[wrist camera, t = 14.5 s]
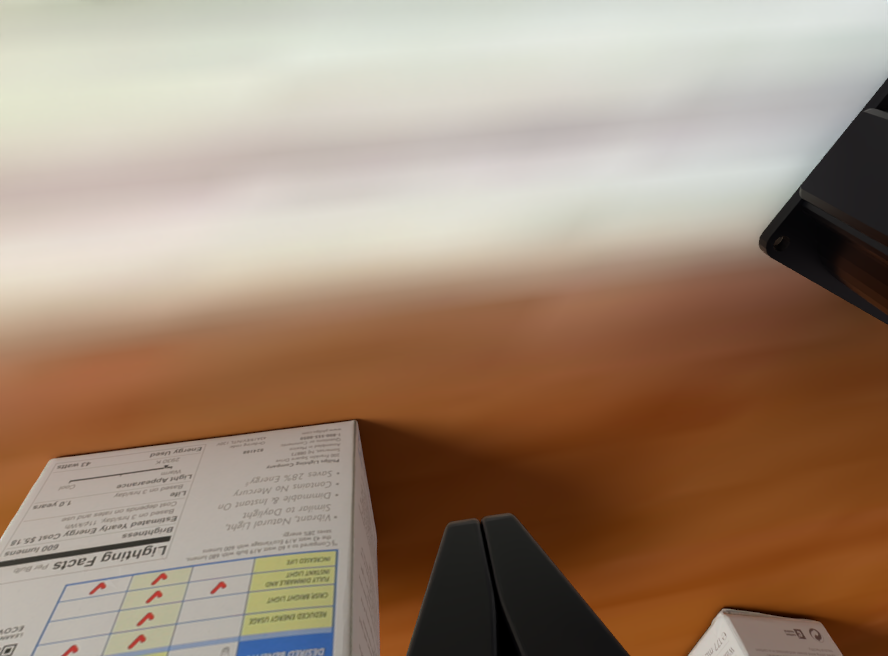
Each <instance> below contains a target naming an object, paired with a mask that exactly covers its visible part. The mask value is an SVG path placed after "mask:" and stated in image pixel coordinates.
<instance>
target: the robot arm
mask: <svg viewBox="0 0 888 656" xmlns="http://www.w3.org/2000/svg"><path fill="white" fill-rule="evenodd" d="M781 236H783V239H782V240H781V242H780V243H779V244H778V245H776V246H774V243H775V241H776V240H777V239H778V238H779V237H781ZM759 246H760V249H761V250H762V251H763V252H764V253H766V254H767V255H768V256H770V257H771V258H773V259H775V260H776V261H778V262H780V263H782V264H783V265H785V266H787V267H788V268H790V269H792V270H794V271H795V272H797V273H799V274H801V275H802V276H804V277H806V278H808V279H809V280H811V281H813V282H815V283H816V284H818V285H820V286H822V287H823V288H825V289H827V290H829V291H830V292H832V293H834V294H835V295H837V296H839V297H841V298H842V299H844V300H846V301H848V302H849V303H851V304H853V305H855V306H856V307H858V308H860V309H862V310H863V311H865V312H867V313H869V314H870V315H872V316H874V317H876V318H877V319H879V320H881V321H883V322H884V323H886V324H888V79H887V80H886V81H885V82H884V83H883V85H882V86H881V87H880V88H879V90H878V91H877V92H876V93H875V95H874V96H873V97H872V98H871V99H870V101H869V102H868V103H867V104H866V106H865V107H864V108H863V109H862V111H861V112H860V113H859V114H858V116H857V117H856V118H855V119H854V120H853V122H852V123H851V124H850V125H849V127H848V128H847V129H846V130H845V132H844V133H843V134H842V135H841V136H840V138H839V139H838V140H837V141H836V143H835V144H834V145H833V146H832V148H831V149H830V150H829V151H828V153H827V154H826V155H825V156H824V157H823V159H822V160H821V161H820V162H819V164H818V165H817V166H816V167H815V169H814V170H813V171H812V172H811V174H810V175H809V176H808V177H807V178H806V180H805V181H804V182H803V183H802V185H801V186H800V187H799V188H798V190H797V191H796V192H795V193H794V194H793V196H792V197H791V198H790V199H789V201H788V202H787V203H786V204H785V206H784V207H783V208H782V209H781V211H780V212H779V213H778V214H777V215H776V217H775V218H774V219H773V220H772V222H771V223H770V224H769V225H768V227H767V228H766V229H765V230H764V231H763V233H762V235H761V236H760V240H759ZM406 656H630V655H629V654H628V653H627V651H626V650H625V649H624V648H623V647H622V645H621V644H620V643H619V642H618V640H617V639H616V638H615V637H614V636H613V634H612V633H611V632H610V631H609V630H608V628H607V627H606V626H605V625H604V623H603V622H602V621H601V620H600V619H599V617H598V616H597V615H596V614H595V612H594V611H593V610H592V609H591V608H590V606H589V605H588V604H587V603H586V602H585V600H584V599H583V598H582V597H581V595H580V594H579V593H578V592H577V591H576V589H575V588H574V587H573V586H572V584H571V583H570V582H569V581H568V580H567V578H566V577H565V576H564V575H563V574H562V572H561V571H560V570H559V569H558V567H557V566H556V565H555V564H554V563H553V561H552V560H551V559H550V558H549V556H548V555H547V554H546V553H545V552H544V550H543V549H542V548H541V547H540V546H539V544H538V543H537V542H536V541H535V539H534V538H533V537H532V536H531V535H530V533H529V532H528V531H527V530H526V528H525V527H524V526H523V525H522V524H521V522H520V521H519V520H518V519H517V518H516V517H515V516H514V515H513V514H511V513H503V514H497V515H490V516H485V517H483V518H482V520H481V524H480V521H479V520H478V519H476V518H471V519H464V520H458V521H452V522H449V523H448V524H447V526H446V528H445V531H444V534H443V537H442V540H441V544H440V547H439V550H438V554H437V557H436V560H435V563H434V567H433V570H432V573H431V576H430V580H429V583H428V586H427V589H426V593H425V596H424V599H423V603H422V606H421V609H420V612H419V616H418V619H417V622H416V625H415V629H414V632H413V635H412V638H411V642H410V645H409V648H408V651H407V655H406Z"/></svg>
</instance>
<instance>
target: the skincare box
mask: <svg viewBox="0 0 888 656" xmlns="http://www.w3.org/2000/svg"><path fill="white" fill-rule="evenodd" d="M688 656H843V655H842V653H841V652H840V650H839V649H838V647H837V646H836V644H835V643H834V641H833V640H832V638H831V637H830V635H829V634H828V632H827V631H826V629H825V628H824V626H823V625H822V623H820V622H819V621H815V620H809V619H793V618H786V617H779V616H773V615H768V614H762V613H756V612H748V611H741V610H733V609H722V610H721V611H720V612H719V613H718V615H717V616H716V617H715V618H714V619H713V621H712V624H711V626H710V627H709V628H708V630H707V631H706V632H705V633H704V635H703V636H702V637H701V639H700V640H699V641H698V643H697V644H696V645H695V647H694V648H693V649H692V650H691V652H690V653H689V654H688Z"/></svg>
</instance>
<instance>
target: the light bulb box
mask: <svg viewBox="0 0 888 656" xmlns="http://www.w3.org/2000/svg"><path fill="white" fill-rule="evenodd" d="M0 656H380V637H379V600H378V574H377V535H376V528H375V522H374V516H373V510H372V504H371V498H370V493H369V487H368V482H367V476H366V470H365V464H364V458H363V452H362V446H361V440H360V434H359V428H358V423H357V421H356V420H352V421H346V422H338V423H330V424H322V425H314V426H306V427H299V428H291V429H283V430H274V431H267V432H259V433H252V434H244V435H236V436H228V437H220V438H212V439H204V440H196V441H188V442H180V443H173V444H165V445H157V446H148V447H141V448H133V449H125V450H118V451H110V452H102V453H95V454H87V455H79V456H71V457H62V458H55V459H51V460H50V461H49V462H48V463H47V465H46V466H45V468H44V470H43V471H42V473H41V475H40V476H39V478H38V480H37V481H36V483H35V484H34V486H33V487H32V489H31V491H30V492H29V494H28V495H27V497H26V499H25V500H24V502H23V504H22V505H21V507H20V509H19V510H18V512H17V513H16V515H15V516H14V518H13V520H12V521H11V523H10V524H9V526H8V527H7V529H6V531H5V532H4V534H3V536H2V537H1V539H0Z"/></svg>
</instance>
